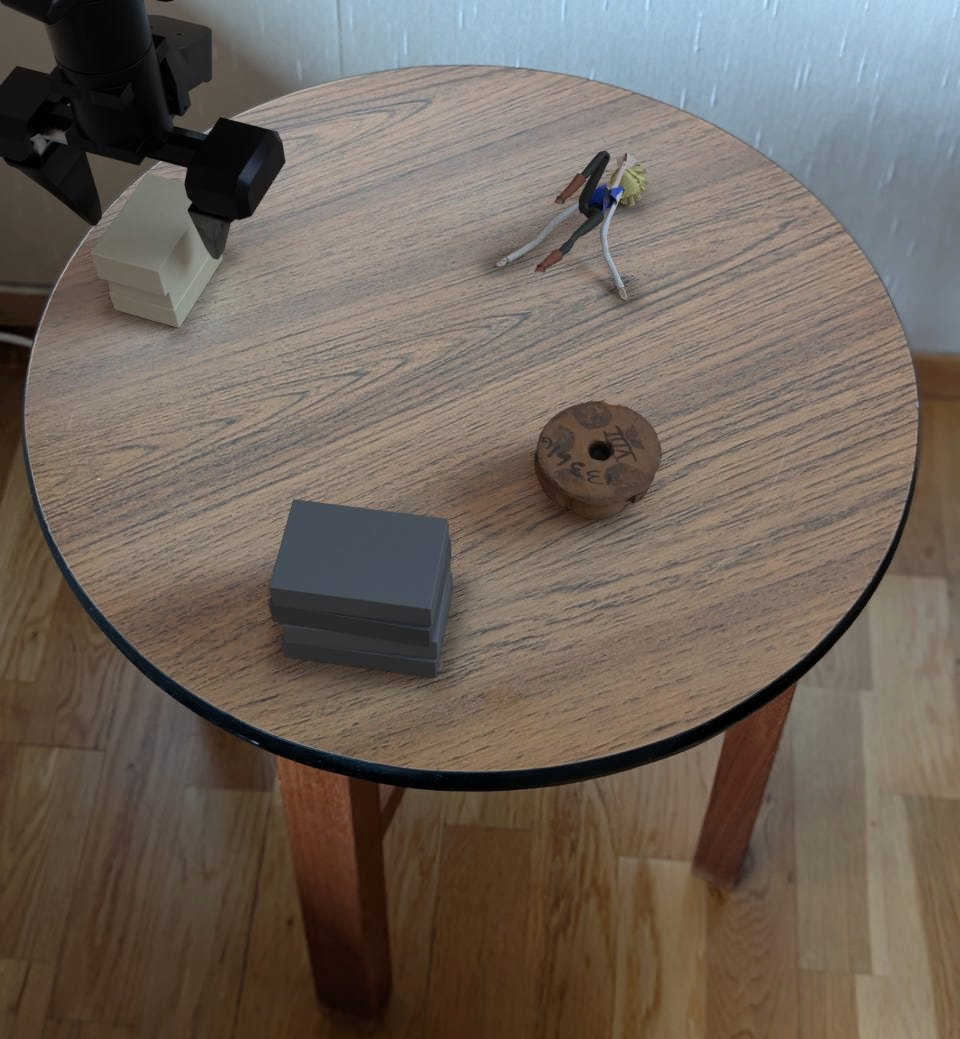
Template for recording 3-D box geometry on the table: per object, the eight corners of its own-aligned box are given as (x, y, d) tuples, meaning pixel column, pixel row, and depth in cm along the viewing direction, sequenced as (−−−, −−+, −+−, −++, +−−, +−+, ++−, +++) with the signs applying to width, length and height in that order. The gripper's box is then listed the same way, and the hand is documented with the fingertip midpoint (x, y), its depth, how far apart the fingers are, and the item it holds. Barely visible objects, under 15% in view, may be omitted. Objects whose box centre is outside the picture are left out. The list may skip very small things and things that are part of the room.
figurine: (668, 269, 104) (542, 386, 90) (587, 194, 104) (448, 300, 91) (745, 176, 96) (619, 289, 83) (657, 96, 97) (517, 195, 83)
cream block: (165, 297, 88) (158, 271, 86) (98, 278, 89) (89, 252, 87) (218, 216, 93) (212, 190, 91) (153, 198, 93) (146, 172, 91)
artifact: (613, 427, 87) (620, 378, 83) (676, 512, 83) (687, 466, 79) (510, 473, 85) (512, 425, 81) (570, 562, 81) (575, 517, 77)
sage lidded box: (179, 328, 92) (169, 292, 89) (114, 310, 93) (102, 273, 90) (223, 258, 95) (215, 221, 92) (160, 241, 96) (150, 204, 93)
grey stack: (280, 659, 78) (261, 590, 71) (304, 567, 81) (288, 493, 75) (437, 681, 77) (433, 613, 70) (455, 587, 80) (453, 514, 74)
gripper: (307, -5, 80) (331, 191, 93) (31, -69, 83) (92, 130, 96) (225, 113, 74) (263, 305, 87) (-67, 40, 77) (12, 235, 90)
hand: (157, 237), depth 90 cm, fingers open, 9 cm apart
